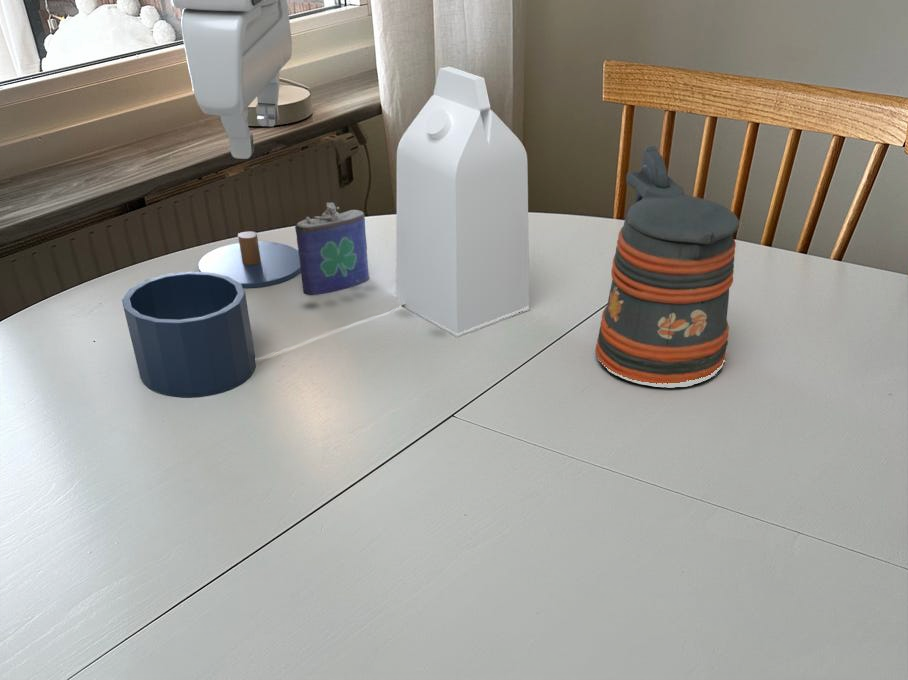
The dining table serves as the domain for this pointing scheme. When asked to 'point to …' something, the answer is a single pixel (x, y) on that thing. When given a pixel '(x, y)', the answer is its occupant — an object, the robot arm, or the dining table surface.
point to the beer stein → (668, 282)
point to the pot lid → (253, 261)
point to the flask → (332, 251)
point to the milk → (461, 209)
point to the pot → (190, 333)
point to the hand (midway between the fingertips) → (256, 139)
